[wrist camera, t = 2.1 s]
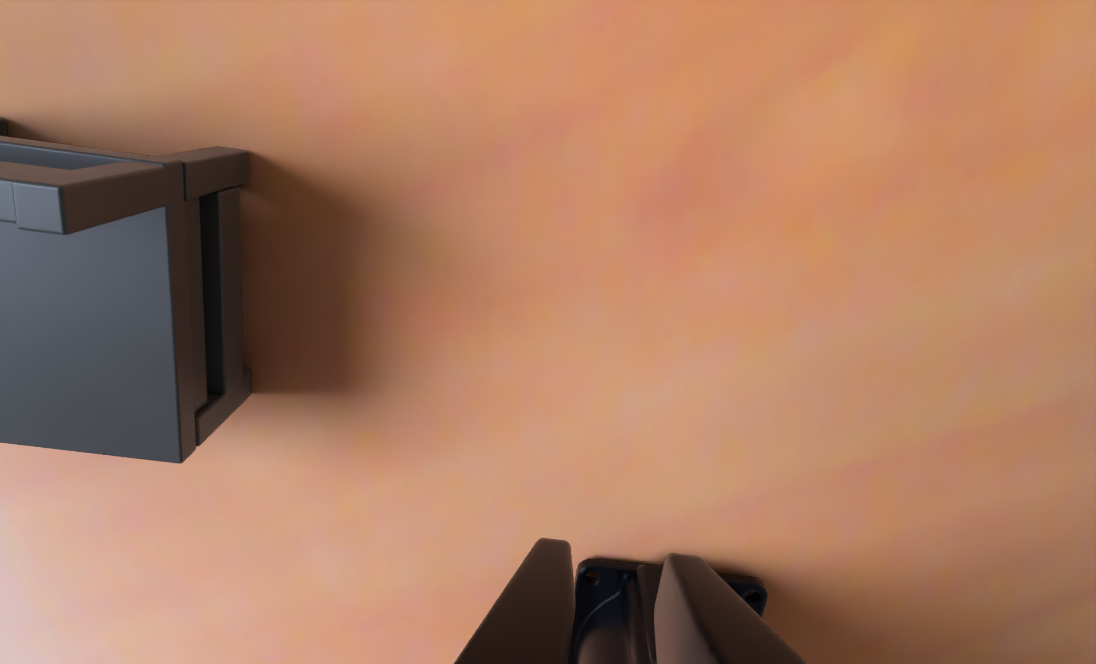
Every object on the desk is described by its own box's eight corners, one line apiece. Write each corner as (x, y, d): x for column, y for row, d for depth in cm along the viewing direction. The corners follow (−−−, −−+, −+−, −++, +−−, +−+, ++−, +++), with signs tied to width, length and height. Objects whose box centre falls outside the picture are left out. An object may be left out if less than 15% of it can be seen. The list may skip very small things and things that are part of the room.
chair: (255, 396, 21) (105, 549, 14) (6, 366, 21) (-276, 507, 14) (252, 148, 19) (66, 183, 12) (-31, 110, 19) (-399, 123, 11)
